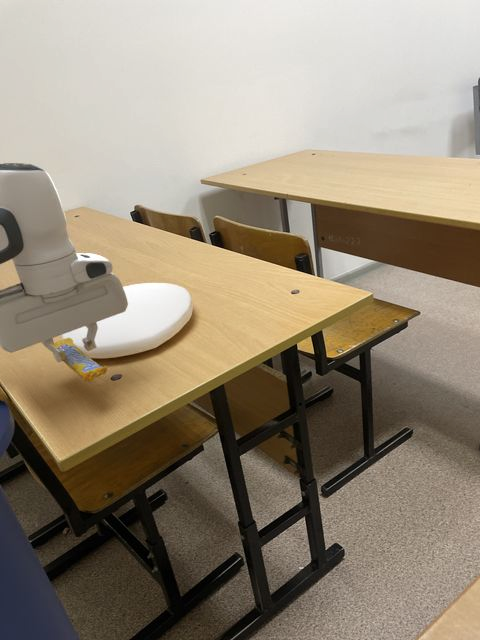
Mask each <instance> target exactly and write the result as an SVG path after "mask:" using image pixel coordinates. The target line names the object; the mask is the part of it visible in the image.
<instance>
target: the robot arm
mask: <svg viewBox="0 0 480 640" xmlns="http://www.w3.org/2000/svg"><path fill="white" fill-rule="evenodd" d="M10 260H11V261H12V262H13V265H14V268H15V271H16V273H17V276H18V280H19V282H20V283H15V284H13V285H10V286H8V287H5V288H3V289H0V348H1V349H3V350H4V351H5V352H8V353H15V352H19V351H21V350H24V349H27V348H29V347H32V346H34V345H37V344H40V343H41V344H42V345H43V346H44V347H45V348H46V349H47V350H49V351H50V352H52V354H53V358H54V359H55V361H56V362H57V363H58V364H59V363H61V362H64V360H66V359H67V356H66V355H65V351H64V350H63V349H62V348H61V347H60V348H57V349H56V348H54V347H53V346H52V344H55V342H54V339H53V338H57V337H59V336H61V335H62V334H65V333H68V332H70V331H73V330H76V329H79V328H81V327H84V326H85V327H87V328H88V332H87V336H86V338H84V339H82V341H83V343H84V347H85V349H86V350H87V351H90V350H92V349H95V348H96V344H95V340H94V339H95V336H96V333H97V329H98V326H97V323H96V322H98V321H101V320H103V319H106V318H109V317H112V316H114V315H117V314H120V313H123V312H125V311H126V309H127V306H128V301H127V297H126V294H125V291H124V289H123V287H124V286H123V284H122V282H121V279H120V278H119V277H118V276H117V275H116V274H115V273H113V269H114V268H113V264H112V262H111V260H109V259H108V258H106V257H104V256H102V255H99V254H95V253H77V252H76V248H75V245H74V243H73V242H72V240H71V239H70V237H69V234H68V221H67V217H66V214H65V210H64V207H63V204H62V201H61V198H60V196H59V192H58V190H57V187H56V186H55V183H54V181H53V180H52V177H51V176H50V174H49V173H48V172H47V171H46V170H44V169H43V168H41V167H39V166H37V165H34V164H30V163H19V162H7V163H6V162H4V163H0V265H2V264H4V263H6V262H9V261H10Z"/></svg>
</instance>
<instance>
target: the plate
mask: <svg viewBox="0 0 480 640" xmlns="http://www.w3.org/2000/svg"><path fill="white" fill-rule="evenodd" d="M123 289H124V291H125V294H126V297H127V301H128V306H127V309H126V311H125V312H123V313H120V314H117V315H114V316H112V317H109V318H106V319H103V320H101V321H98V322H96V323H97V326H98V329H97V333H96V336H95V339H94V340H95V344H96V348H95V349H92V350H90V351H87V350H86V349H85V347H84V343H83V341H82V339H84V338H86V336H87V332H88V328H87V327H85V326H84V327H81V328H79V329H76V330H73V331H70V332H68V333H65V334H62V335H60V337H61V340H64V339H66V338H71V339H72V340H73V343H74V344H75V345H76V346H77V347H78V348H79V349H80V350H81V351H83V352H84V353H85V354H86V355H87V356H88V357H90V358H91V359H111V358H112V359H113V358H120V357H125V356H131V355H135V354H140V353H144V352H147V351H150V350H154V349H156V348H158V347H159V346H161V345H163V344H164V343H166V342H168V340H170V339H171V338H173V337H174V336H175V335H176V334H178V333H179V332H180V331H181V330H182V329H183V328H184V326H185V325H186V324H187V323H188V322H189V321H190V319H191V317H192V315H193V308H194V301H193V298H192V295H191V294H190V292H189V290H187V289H186V288H185V287H183V286H180V285H178V284H174V283H168V282H145V283H134V284H130V285H126V286H123Z"/></svg>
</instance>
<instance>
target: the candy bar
mask: <svg viewBox="0 0 480 640" xmlns="http://www.w3.org/2000/svg"><path fill="white" fill-rule="evenodd" d="M52 346H53V347H54V348H56V349H57V348H60V347H61V348H62V349H63V350H64V351H65V355H66V356H67V359H66V360H64V361H63V362H64V363H65V364H66V365H67V367H68V368H69V369H71V370H72V371H73V372H74V373H75V374H77V375H78V376H79V377H80V378H81V379H83V381H85V382H89V383H90V382H92V381H94V380H95V379H98V378H99V377H101V376H103V375H105V374H106V373H107V371H108V368H107V365H104V366H101V365H100V364H99V363H97V362H96V361H94V360H93V358H90V357H88V356H87V355H86V354H85V353H84V352H83V351H81V350H80V349H79V348H78V347H77V346H76V345H75V344H74V343H73V340H72V339H71V338H66V339H64V340H62V339H61V340H59V341H56V342H54V344H52Z"/></svg>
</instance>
